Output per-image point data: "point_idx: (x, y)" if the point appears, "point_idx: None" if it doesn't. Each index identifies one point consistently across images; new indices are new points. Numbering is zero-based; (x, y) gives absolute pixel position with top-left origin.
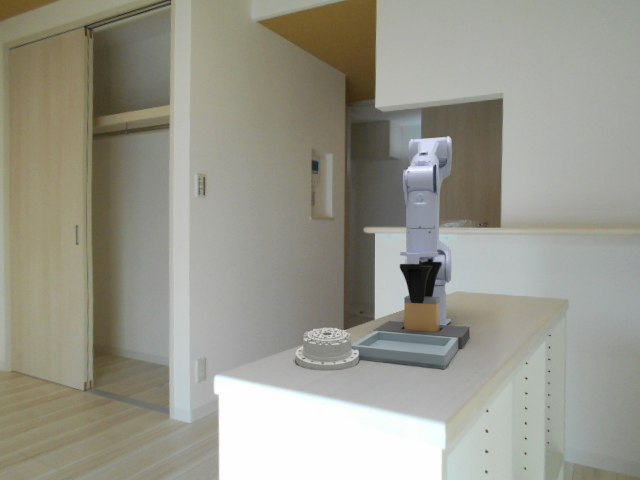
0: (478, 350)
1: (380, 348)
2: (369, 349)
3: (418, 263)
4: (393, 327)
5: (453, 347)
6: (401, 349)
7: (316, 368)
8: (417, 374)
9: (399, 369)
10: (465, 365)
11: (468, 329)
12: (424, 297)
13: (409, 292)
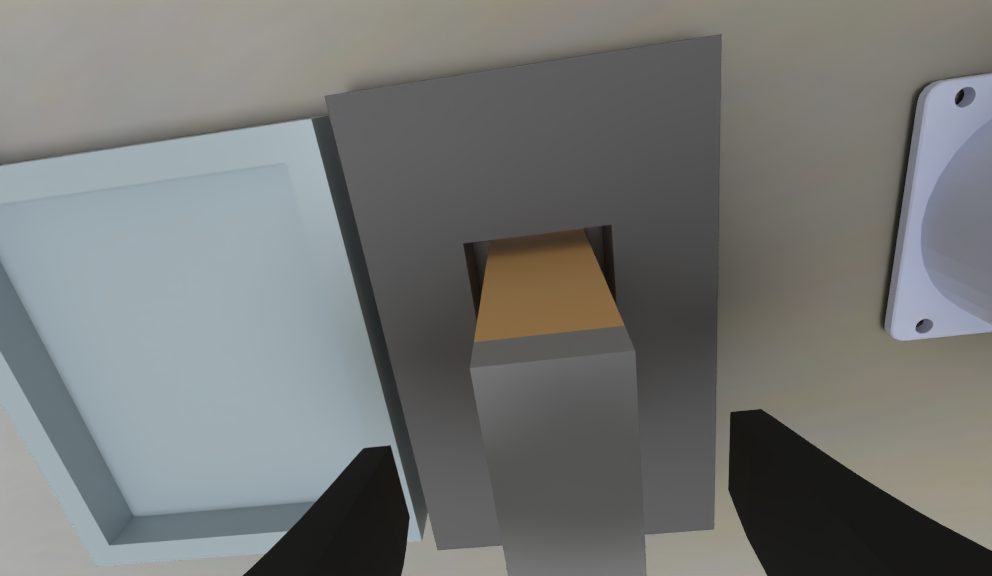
0: (462, 556)
1: None
2: None
3: None
4: (480, 184)
5: None
6: (39, 422)
7: None
8: (11, 477)
9: (6, 413)
10: (227, 561)
11: (672, 527)
12: (557, 509)
13: (312, 510)
